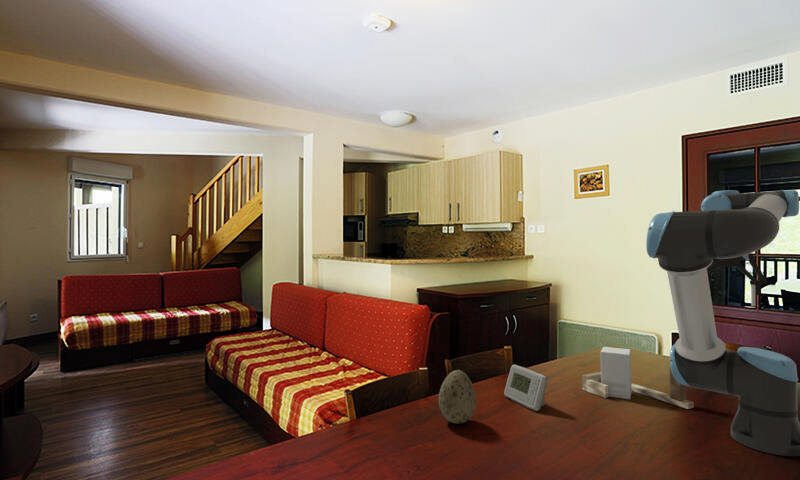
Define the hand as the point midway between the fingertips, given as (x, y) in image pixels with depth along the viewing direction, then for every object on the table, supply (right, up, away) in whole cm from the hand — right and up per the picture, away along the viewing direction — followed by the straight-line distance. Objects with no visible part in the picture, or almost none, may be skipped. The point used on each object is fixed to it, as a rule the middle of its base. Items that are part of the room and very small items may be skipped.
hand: (726, 304), depth 141 cm
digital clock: (-65, -32, 0) cm, 73 cm away
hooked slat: (-28, -32, +3) cm, 42 cm away
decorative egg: (-89, -32, -15) cm, 96 cm away
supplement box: (-32, -32, +8) cm, 46 cm away
